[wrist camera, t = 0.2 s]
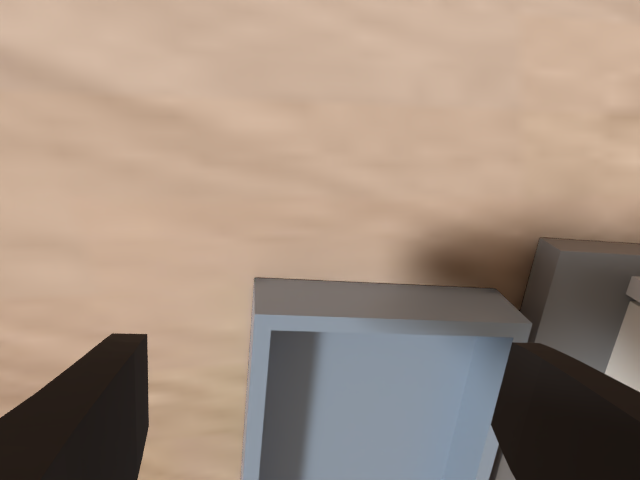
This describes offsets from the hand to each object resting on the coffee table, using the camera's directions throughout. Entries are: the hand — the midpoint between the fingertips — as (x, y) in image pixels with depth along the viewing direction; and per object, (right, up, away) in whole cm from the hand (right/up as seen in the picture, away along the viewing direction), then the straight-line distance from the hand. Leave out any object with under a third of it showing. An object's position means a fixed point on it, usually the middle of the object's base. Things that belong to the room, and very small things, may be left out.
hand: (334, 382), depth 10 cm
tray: (+1, -6, +13) cm, 15 cm away
